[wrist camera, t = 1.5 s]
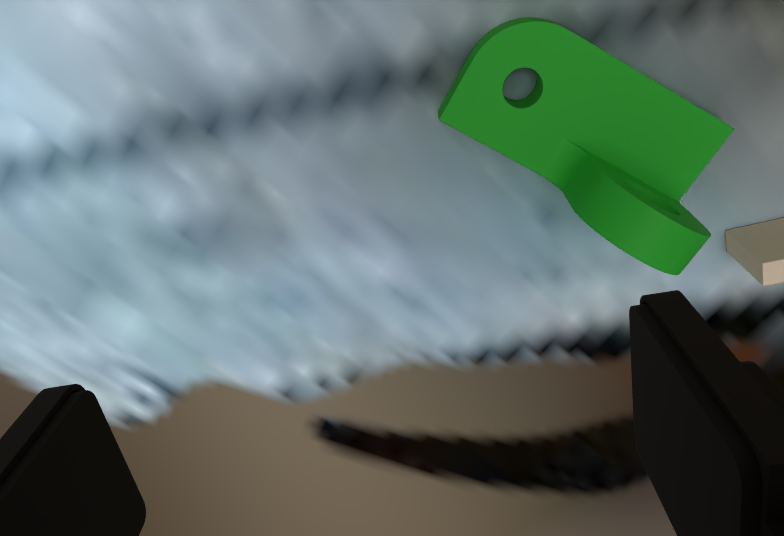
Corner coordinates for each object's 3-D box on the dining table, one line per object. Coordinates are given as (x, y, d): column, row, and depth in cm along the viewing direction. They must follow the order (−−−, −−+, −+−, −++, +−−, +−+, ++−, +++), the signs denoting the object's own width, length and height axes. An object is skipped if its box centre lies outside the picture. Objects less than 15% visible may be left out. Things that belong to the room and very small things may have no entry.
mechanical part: (716, 118, 32) (805, 167, 24) (639, 220, 34) (699, 292, 27) (503, -8, 29) (532, 5, 22) (437, 110, 32) (444, 156, 25)
